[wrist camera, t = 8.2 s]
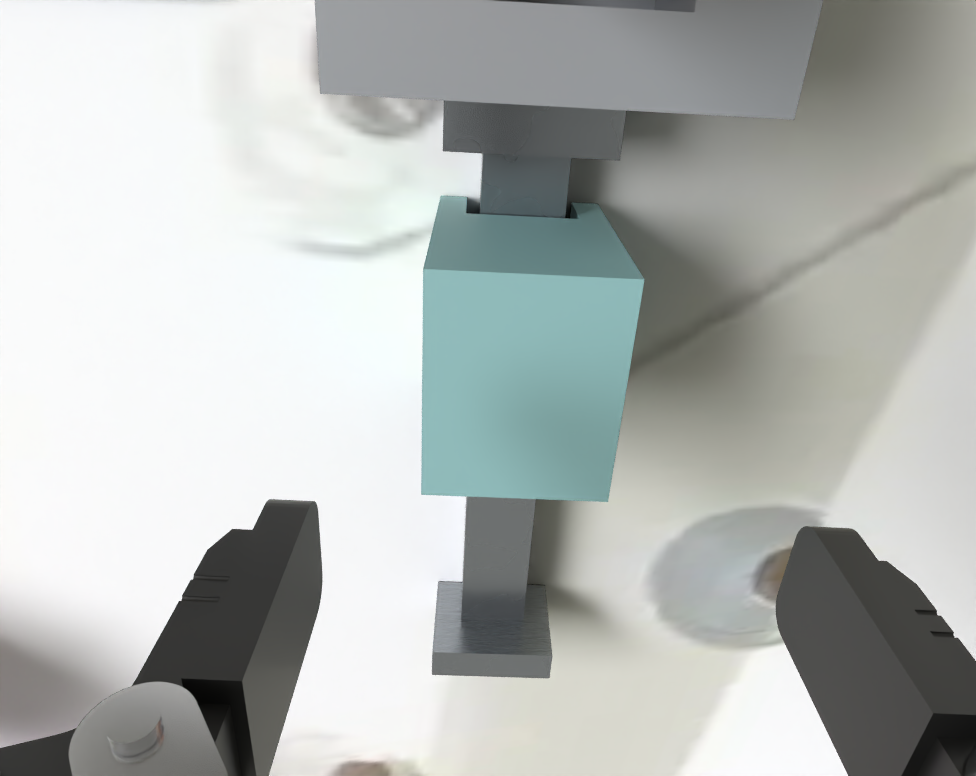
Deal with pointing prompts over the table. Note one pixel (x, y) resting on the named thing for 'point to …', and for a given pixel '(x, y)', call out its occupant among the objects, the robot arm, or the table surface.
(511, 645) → the rail
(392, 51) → the cabinet
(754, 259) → the table surface
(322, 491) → the table surface
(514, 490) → the block
